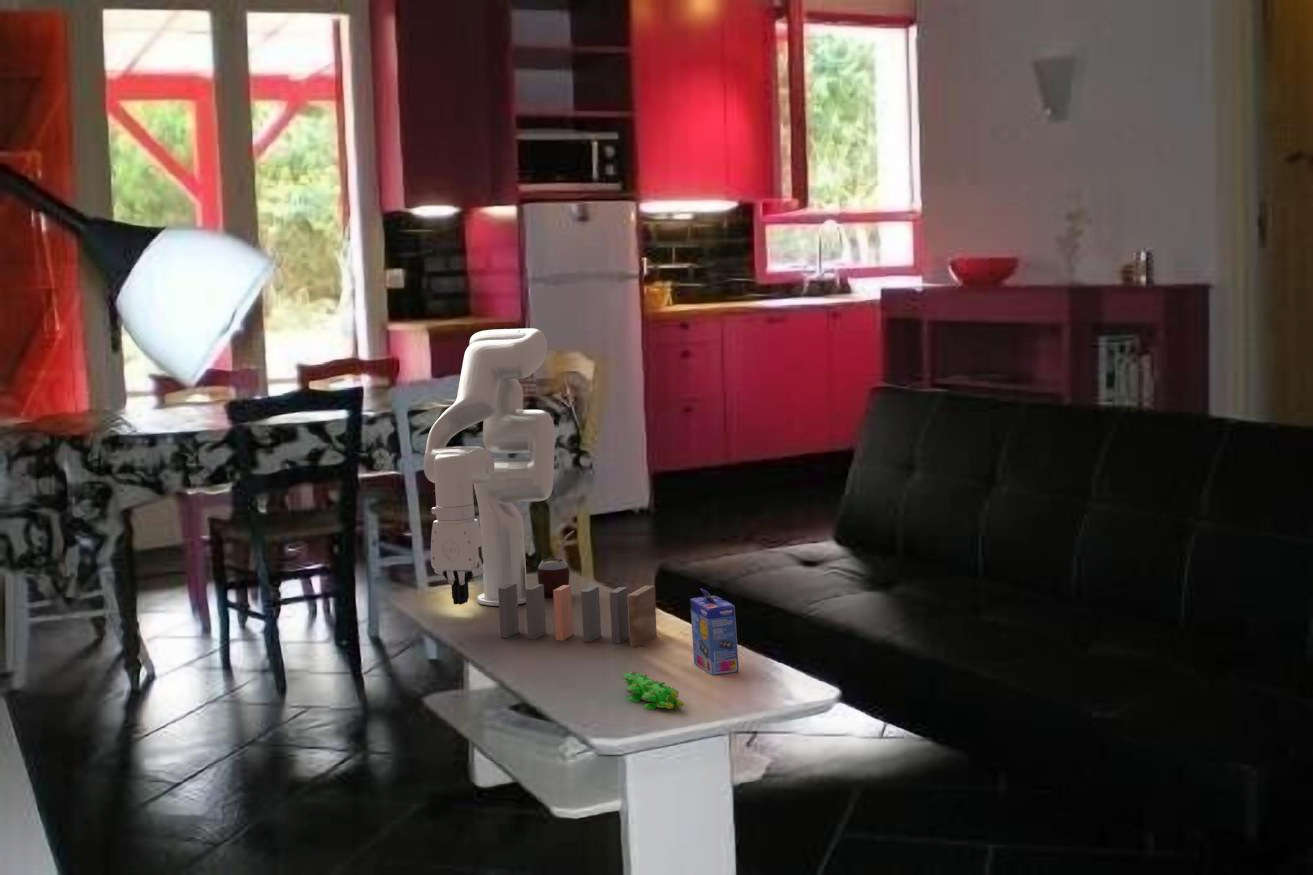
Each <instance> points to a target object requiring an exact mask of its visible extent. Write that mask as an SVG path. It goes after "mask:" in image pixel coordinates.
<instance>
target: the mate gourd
mask: <svg viewBox="0 0 1313 875" xmlns="http://www.w3.org/2000/svg"><path fill="white" fill-rule="evenodd" d="M574 532H575V530H574V529H573V530H572V531H570V532H569V533H568V534H566V535H565V537H564V538H562V541H561V543H560V544H561V546H560V549H559V552H558V557H557V558H546V559H542V560H540V563H539V564H538V566H537V572H536V573H537V580H538V584H544V598H551V597H553V590H555V589H557V588H559V587H560V586H562V585H570V569H569V565H568V563H567V561H566V560H565V559H563V558H561V556H562V552H563V549H564V547H565V544H566V542H567V539H568V538H569V537H570V536H571V535H572V534H573V533H574Z"/></svg>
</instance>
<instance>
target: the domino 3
mask: <svg viewBox="0 0 1313 875" xmlns="http://www.w3.org/2000/svg"><path fill="white" fill-rule="evenodd" d="M553 611H554V612H553V614H554V616H553V617H554V630H555V631H554V633H555V641H561V642H562V641H565V640H566V639H569V638H570V637H572V636H574V622H573V621H574V620H573V601H572V586H571V584H569V585H562V586H560V587H559V588H557V589H555V590H553Z"/></svg>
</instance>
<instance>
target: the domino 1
mask: <svg viewBox="0 0 1313 875" xmlns="http://www.w3.org/2000/svg"><path fill="white" fill-rule="evenodd" d="M498 595H499V606H498V608H499V609H498V611H499V626H500V638H501V639H509V638H511V637H513V636H515V635H516V634H517V635H518V633H520V624H519V620H520V619H519V609H518V608H519V604H518V602H517V584H516V583H509V584H506V585H504V586H502V587H500V588H498Z"/></svg>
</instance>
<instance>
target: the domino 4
mask: <svg viewBox="0 0 1313 875" xmlns="http://www.w3.org/2000/svg"><path fill="white" fill-rule="evenodd" d="M580 595H581V596H580V597H581V598H580V600H581V614H582V631H583V633H582V636H583V637H582V638H583V642H584V643H592V642H594V641H596V640H597V639H599V638H600V637H602V626H601V624H602V623H601V608H600V607H601V604H600V603H601V602H600V586H599V585H597V586H596V585H590V586H588V587H587V588H585V589H582V590H581V592H580Z"/></svg>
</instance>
